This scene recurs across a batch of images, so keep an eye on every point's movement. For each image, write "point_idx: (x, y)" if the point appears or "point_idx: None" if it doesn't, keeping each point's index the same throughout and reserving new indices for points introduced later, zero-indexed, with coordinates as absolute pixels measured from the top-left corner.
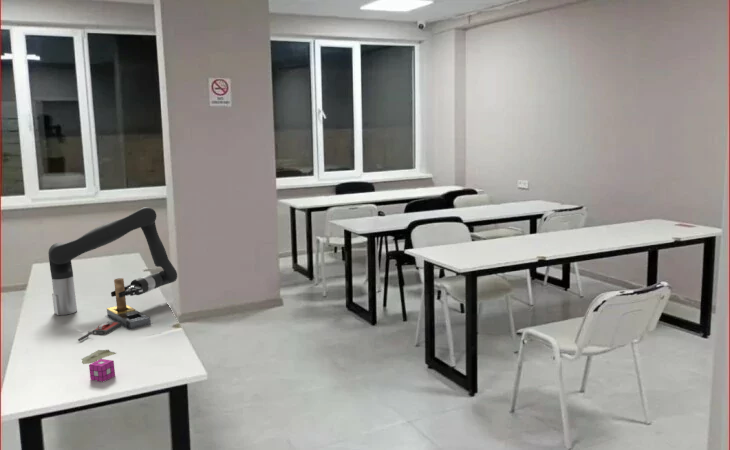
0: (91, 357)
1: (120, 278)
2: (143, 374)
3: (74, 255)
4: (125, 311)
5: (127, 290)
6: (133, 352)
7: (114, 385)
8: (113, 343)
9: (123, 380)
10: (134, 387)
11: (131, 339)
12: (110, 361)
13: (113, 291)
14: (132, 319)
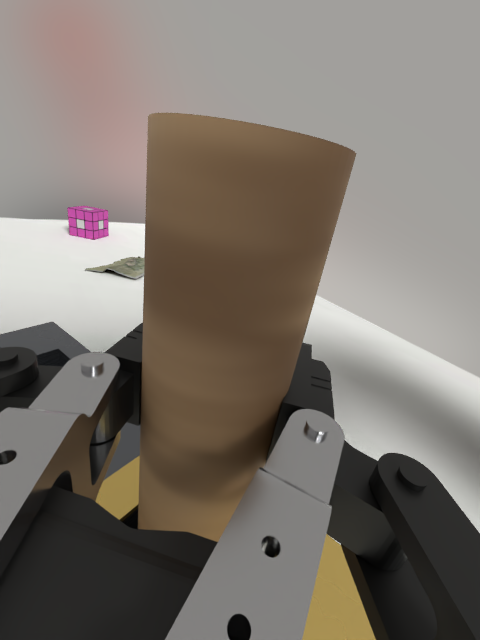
0: (135, 258)
1: (268, 131)
2: (17, 229)
3: None
4: (123, 472)
5: (82, 356)
6: (38, 266)
7: (66, 225)
8: (109, 300)
9: (53, 228)
10: (33, 220)
11: (49, 310)
12: (72, 207)
13: (300, 354)
14: (42, 347)
